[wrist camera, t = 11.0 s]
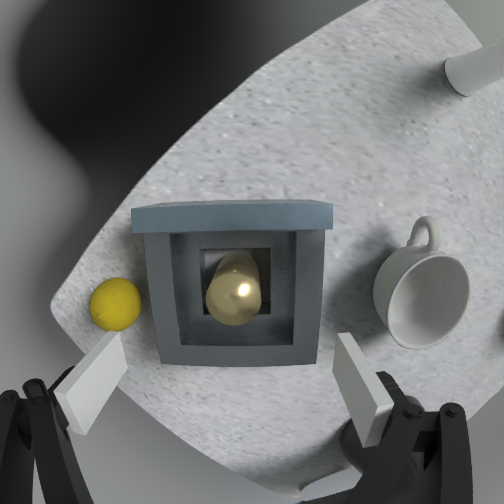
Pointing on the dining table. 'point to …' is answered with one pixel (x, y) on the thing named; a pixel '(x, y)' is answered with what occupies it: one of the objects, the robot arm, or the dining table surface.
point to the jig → (194, 279)
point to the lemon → (115, 304)
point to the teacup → (421, 290)
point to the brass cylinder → (235, 290)
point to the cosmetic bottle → (476, 68)
